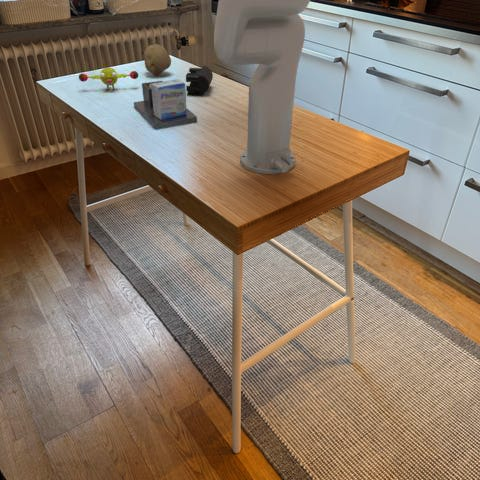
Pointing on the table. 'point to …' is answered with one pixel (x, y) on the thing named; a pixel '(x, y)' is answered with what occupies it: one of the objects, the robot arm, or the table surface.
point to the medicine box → (169, 99)
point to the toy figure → (108, 76)
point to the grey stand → (148, 113)
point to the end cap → (198, 81)
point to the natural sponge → (156, 59)
